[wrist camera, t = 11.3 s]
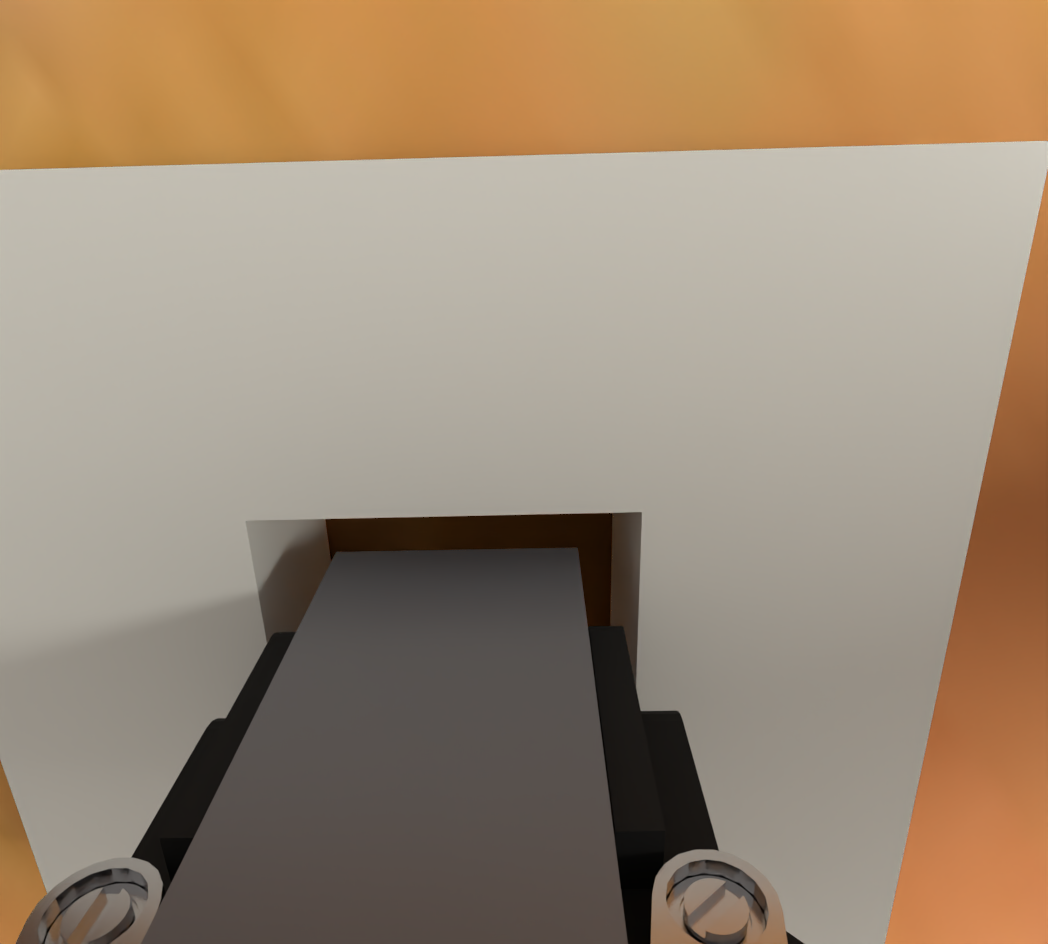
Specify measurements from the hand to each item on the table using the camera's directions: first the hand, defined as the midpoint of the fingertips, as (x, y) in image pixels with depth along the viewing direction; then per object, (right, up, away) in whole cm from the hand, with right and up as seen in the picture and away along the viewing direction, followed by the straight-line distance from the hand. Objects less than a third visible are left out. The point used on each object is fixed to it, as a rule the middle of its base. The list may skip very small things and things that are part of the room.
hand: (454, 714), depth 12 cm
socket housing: (0, +2, +4) cm, 5 cm away
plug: (0, +1, +1) cm, 2 cm away
